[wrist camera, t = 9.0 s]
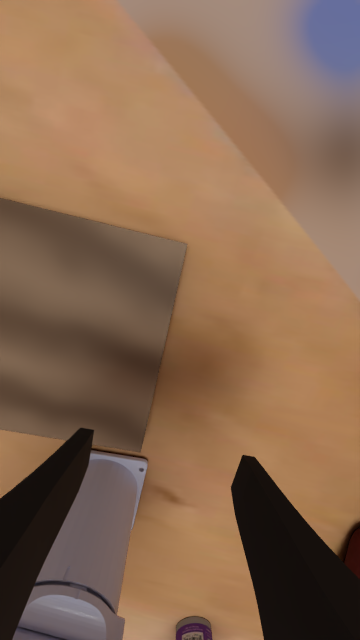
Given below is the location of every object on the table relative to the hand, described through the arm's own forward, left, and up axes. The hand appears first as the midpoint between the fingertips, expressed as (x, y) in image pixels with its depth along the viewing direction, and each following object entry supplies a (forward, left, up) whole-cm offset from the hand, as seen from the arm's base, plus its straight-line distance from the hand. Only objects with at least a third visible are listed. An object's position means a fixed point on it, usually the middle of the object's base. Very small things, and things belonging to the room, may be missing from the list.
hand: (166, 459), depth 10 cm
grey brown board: (+2, +15, -9) cm, 18 cm away
